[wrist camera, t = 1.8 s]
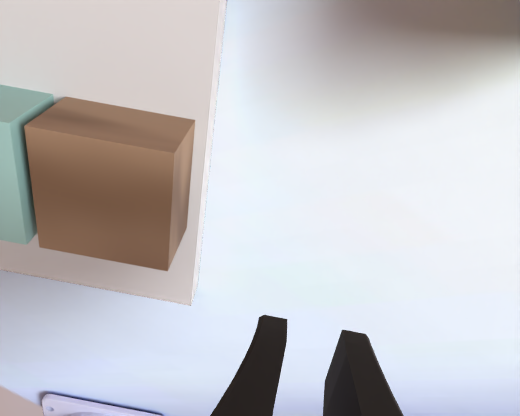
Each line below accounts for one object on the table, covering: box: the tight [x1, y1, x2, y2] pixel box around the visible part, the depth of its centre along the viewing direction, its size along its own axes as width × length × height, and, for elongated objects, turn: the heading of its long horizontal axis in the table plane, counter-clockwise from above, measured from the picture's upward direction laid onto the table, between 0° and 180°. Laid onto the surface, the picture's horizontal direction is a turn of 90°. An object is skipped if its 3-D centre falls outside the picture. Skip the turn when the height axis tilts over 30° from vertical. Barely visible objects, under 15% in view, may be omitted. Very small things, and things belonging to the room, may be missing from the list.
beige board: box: [0, 0, 227, 306], centre depth 20 cm, size 14×12×2 cm
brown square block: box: [24, 97, 195, 271], centre depth 18 cm, size 5×5×3 cm
